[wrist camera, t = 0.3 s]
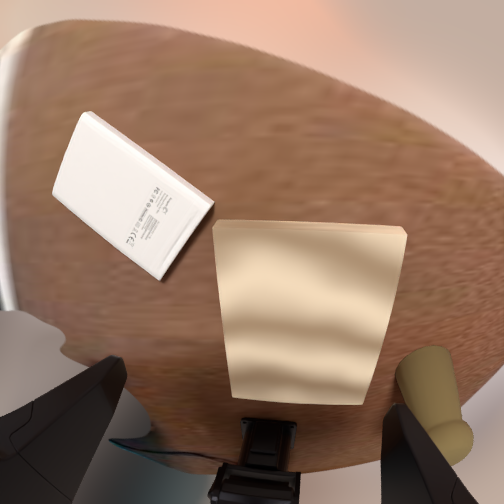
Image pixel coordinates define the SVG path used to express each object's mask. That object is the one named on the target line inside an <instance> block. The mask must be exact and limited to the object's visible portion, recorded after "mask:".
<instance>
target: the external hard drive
mask: <svg viewBox="0 0 504 504" xmlns="http://www.w3.org/2000/svg"><path fill="white" fill-rule="evenodd" d="M52 194H53V196H54V197H56V198H57V199H58V200H59V201H60V202H61V203H62V204H64V205H65V206H66V207H67V208H68V209H69V210H71V211H72V212H73V213H74V214H75V215H76V216H78V217H79V218H80V219H81V220H82V221H84V222H85V223H86V224H87V225H88V226H90V227H91V228H92V229H93V230H95V231H96V232H97V233H98V234H99V235H101V236H102V237H103V238H104V239H106V240H107V241H108V242H109V243H111V244H112V245H113V246H114V247H116V248H117V249H118V250H120V251H121V252H122V253H123V254H125V255H126V256H127V257H129V258H130V259H131V260H132V261H134V262H135V263H137V264H138V265H139V266H141V267H142V268H143V269H145V270H146V271H147V272H148V273H150V274H151V275H152V276H154V277H155V278H156V279H158V280H159V281H160V280H161V278H162V277H163V276H164V274H165V273H166V271H167V269H168V268H169V267H170V265H171V264H172V262H173V261H174V259H175V258H176V256H177V255H178V253H179V252H180V250H181V249H182V247H183V246H184V244H185V243H186V242H187V240H188V239H189V237H190V236H191V235H192V233H193V232H194V230H195V229H196V228H197V226H198V225H199V223H200V222H201V221H202V219H203V218H204V216H205V215H206V214H207V212H208V211H209V210H210V208H211V207H212V205H213V204H214V201H213V200H211V199H210V198H209V197H207V196H206V195H205V194H203V193H202V192H200V191H199V190H198V189H196V188H195V187H194V186H192V185H191V184H190V183H188V182H187V181H186V180H184V179H183V178H182V177H180V176H179V175H178V174H176V173H175V172H174V171H172V170H171V169H170V168H168V167H167V166H166V165H164V164H163V163H162V162H160V161H159V160H157V159H156V158H155V157H153V156H152V155H151V154H149V153H148V152H147V151H145V150H144V149H142V148H141V147H140V146H138V145H137V144H135V143H134V142H133V141H131V140H130V139H129V138H127V137H126V136H125V135H123V134H122V133H120V132H119V131H118V130H116V129H115V128H114V127H112V126H111V125H109V124H108V123H107V122H105V121H104V120H103V119H101V118H100V117H98V116H97V115H95V114H94V113H93V112H91V111H89V112H84V113H83V114H82V116H81V117H80V119H79V121H78V124H77V126H76V128H75V131H74V133H73V135H72V138H71V140H70V143H69V146H68V148H67V151H66V153H65V156H64V159H63V162H62V164H61V167H60V170H59V173H58V175H57V179H56V182H55V185H54V188H53V192H52Z"/></svg>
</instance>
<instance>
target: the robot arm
mask: <svg viewBox="0 0 504 504" xmlns="http://www.w3.org/2000/svg"><path fill="white" fill-rule="evenodd" d="M126 379H127V371H126V368H125V364H124V361H123V359H122V358H121V357H118V356H115V355H110V356H108V357H106V358H105V359H103V360H101V361H100V362H98V363H96V364H95V365H93V366H91V367H90V368H88V369H86V370H85V371H83V372H81V373H79V374H78V375H76V376H74V377H73V378H71V379H69V380H67V381H66V382H64V383H62V384H61V385H59V386H57V387H55V388H54V389H52V390H50V391H49V392H47V393H45V394H43V395H42V396H40V397H38V398H37V399H35V400H34V401H31V402H29V403H28V404H26V405H24V406H22V407H21V408H19V409H17V410H15V411H13V412H11V413H8V414H6V415H4V416H2V417H0V504H72V501H73V500H74V497H75V495H76V493H77V490H78V488H79V486H80V484H81V482H82V480H83V477H84V475H85V473H86V471H87V469H88V466H89V464H90V462H91V460H92V458H93V456H94V454H95V452H96V450H97V447H98V446H99V443H100V441H101V439H102V437H103V435H104V433H105V431H106V429H107V427H108V425H109V423H110V421H111V419H112V417H113V414H114V412H115V409H116V407H117V404H118V401H119V398H120V396H121V393H122V390H123V388H124V385H125V382H126ZM296 427H297V424H296V423H295V422H283V421H271V420H261V419H251V418H242V419H241V430H242V437H243V444H242V448H241V452H240V456H239V461H238V465H232V464H228V463H225V462H224V463H223V466H222V467H219V468H218V472H217V475H216V478H215V480H214V483H213V484H212V486H211V488H210V490H209V492H208V498H209V499H210V500H211V504H299V494H300V476H301V472H288V464H289V456H290V449H293V448H294V441H295V434H296ZM381 504H478V502H477V501H476V500H475V499H474V497H473V496H472V495H471V494H470V492H469V491H468V490H467V488H466V487H465V486H464V484H463V483H462V482H461V480H460V478H459V477H457V475H456V473H455V471H454V470H453V469H452V467H451V466H450V464H449V463H448V461H447V460H446V459H445V457H444V456H443V454H442V453H441V452H440V450H439V449H438V447H437V446H436V445H435V443H434V442H433V440H432V439H431V438H430V436H429V435H428V433H427V432H426V431H425V429H424V428H423V427H422V425H421V424H420V422H419V421H418V420H417V418H416V417H415V416H414V414H413V413H412V411H411V410H410V409H409V407H408V406H407V405H406V404H405V403H394V404H393V405H392V406H391V408H390V409H389V411H388V412H387V414H386V415H385V417H384V420H383V431H382V448H381Z"/></svg>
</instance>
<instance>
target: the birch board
mask: <svg viewBox="0 0 504 504" xmlns="http://www.w3.org/2000/svg"><path fill="white" fill-rule="evenodd" d="M212 230H213V240H214V250H215V260H216V270H217V279H218V288H219V297H220V306H221V315H222V323H223V331H224V339H225V347H226V355H227V363H228V370H229V377H230V385H231V392H232V397H235V398H243V399H252V400H262V401H273V402H285V403H302V404H328V405H362V404H363V401H364V399H365V396H366V393H367V390H368V387H369V384H370V382H371V379H372V376H373V373H374V370H375V366H376V363H377V360H378V357H379V354H380V350H381V347H382V344H383V340H384V337H385V333H386V330H387V326H388V322H389V318H390V315H391V311H392V307H393V303H394V298H395V294H396V290H397V285H398V281H399V276H400V271H401V266H402V261H403V256H404V251H405V245H406V239H407V234H406V232H405V231H404V230H403V228H402V227H401V226H384V225H366V224H346V223H323V222H296V221H264V220H217V222H216V223H215V224H214V226H213V227H212Z"/></svg>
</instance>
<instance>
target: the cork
mask: <svg viewBox="0 0 504 504" xmlns="http://www.w3.org/2000/svg"><path fill="white" fill-rule="evenodd" d="M395 376H396V380H397V382H398V385H399V388H400V390H401V393H402V395H403V398H404V401H405V403H406V405H407V406H408V407H409V409H410V410H411V411H412V413H413V414H414V416H415V417H416V418H417V420H418V421H419V422H420V424H421V425H422V427H423V428H424V429H425V431H426V432H427V433H428V435H429V436H430V438H431V439H432V440H433V442H434V443H435V445H436V446H437V447H438V449H439V450H440V452H441V453H442V454H443V456H444V457H445V459H446V460H447V461H448V463H449V464H450V466H453V465H455V464H456V463H458V462H460V461H461V460H463V459H464V458H465V457H466V456H467V455H468V454H469V452H470V451H471V449H472V446H473V432H472V429H471V428H470V426H469V425H468V424H467V422H465V421H463V420H462V414H461V407H460V401H459V395H458V389H457V383H456V378H455V373H454V368H453V363H452V358H451V354H450V352H449V351H448V350H447V349H446V348H444V347H442V346H434V345H433V346H427V347H423V348H421V349H418V350H415V351H414V352H412V353H411V354H409V355H407V356H406V357H405V358H404V359H403V360H402V361H401V362H400V364H399V365H398V367H397V369H396V373H395Z"/></svg>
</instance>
